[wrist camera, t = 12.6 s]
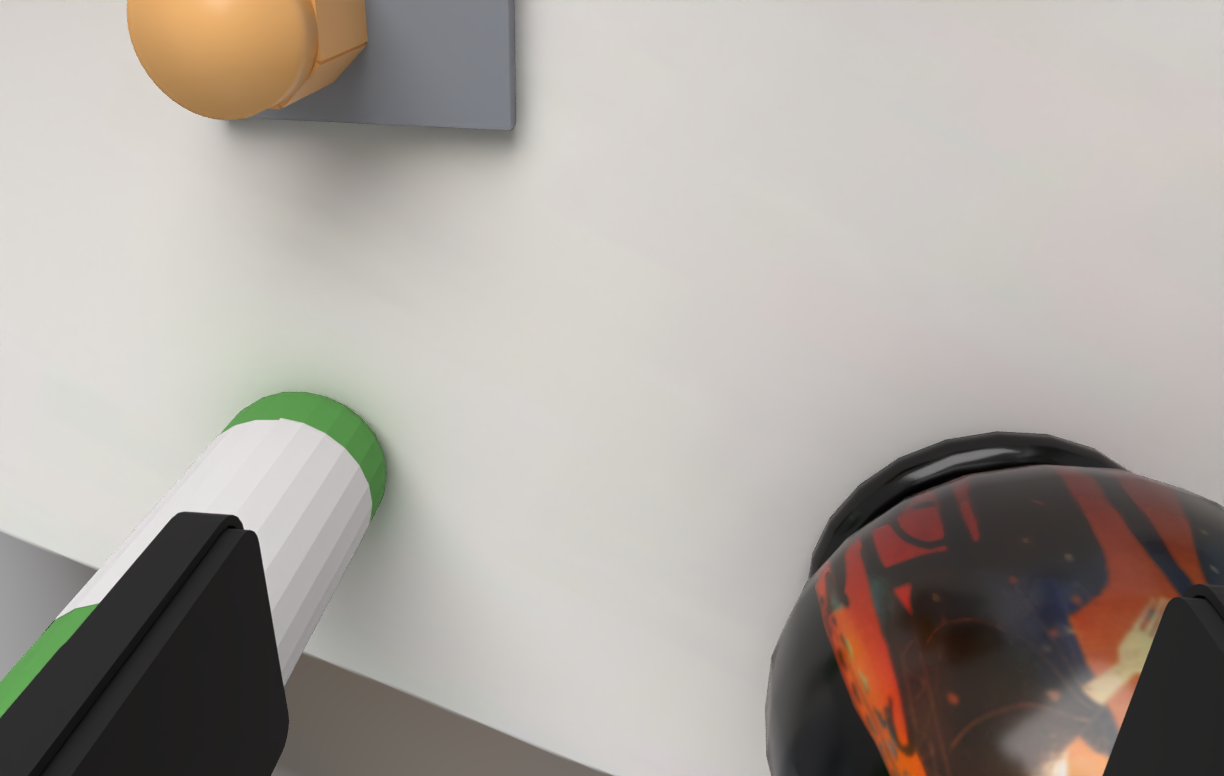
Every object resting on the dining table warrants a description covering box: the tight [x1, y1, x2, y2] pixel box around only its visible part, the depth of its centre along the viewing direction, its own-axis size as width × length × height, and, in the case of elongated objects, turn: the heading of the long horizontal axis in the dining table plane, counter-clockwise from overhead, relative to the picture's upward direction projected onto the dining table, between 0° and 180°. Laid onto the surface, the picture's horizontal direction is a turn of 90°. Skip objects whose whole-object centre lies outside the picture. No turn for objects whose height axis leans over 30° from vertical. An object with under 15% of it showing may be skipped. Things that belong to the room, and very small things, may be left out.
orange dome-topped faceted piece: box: [127, 0, 368, 120], centre depth 32 cm, size 5×5×7 cm
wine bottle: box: [0, 392, 387, 718], centre depth 32 cm, size 8×8×30 cm
